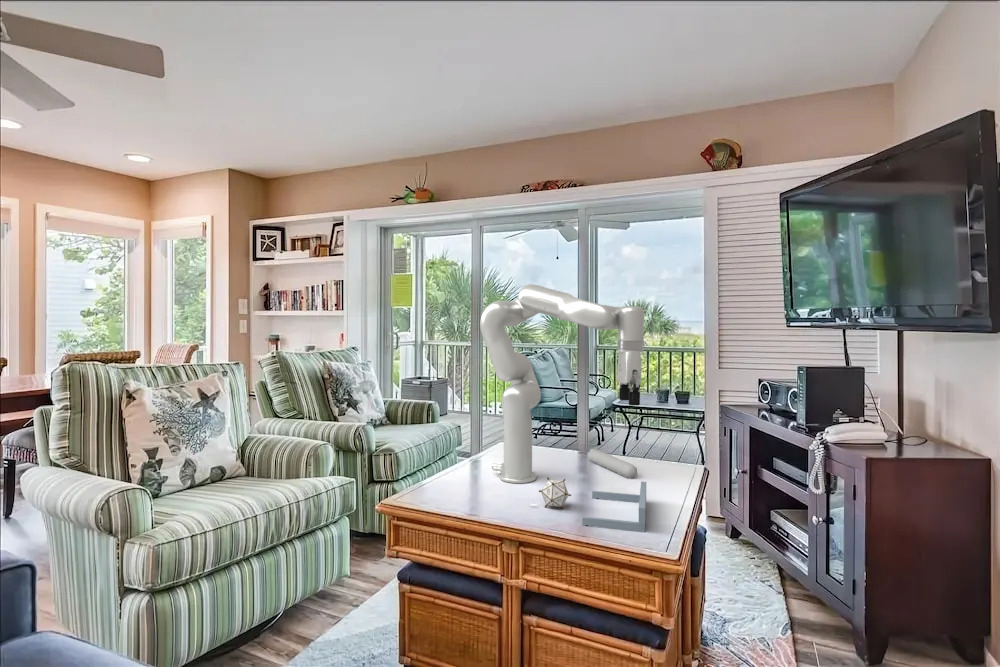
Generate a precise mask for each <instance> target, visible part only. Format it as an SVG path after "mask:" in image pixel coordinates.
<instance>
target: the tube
mask: <svg viewBox="0 0 1000 667" xmlns="http://www.w3.org/2000/svg"><path fill="white" fill-rule="evenodd" d="M587 459H588V461H590V462H591V461H593V463H594V462H595V463H594V464H596V463H597V465H599V466H601V465H602V466H601V467H603V466H604V467H603V468H605V467H606V468H605V469H607V468H608V470H609V469H610V471H611V470H612V472H613V473H615V474H618V473H619V474H618V475H620V474H621V475H620V476H622V475H623V476H622V477H624V476H625V478H626V477H627V479H629V478H631V479H634V478H636V477H637V476H638V475H639V474H638V467H636V466H635V465H634V464H631V463H630V462H627V461H625V460H623V459H620V458H618V457H615V456H613V455H611V454H609V453H606V452H604V451H602V450H599V449H598V448H591V449H590V450H589V451H588V453H587Z"/></svg>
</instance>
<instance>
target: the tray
mask: <svg viewBox="0 0 1000 667" xmlns="http://www.w3.org/2000/svg"><path fill="white" fill-rule="evenodd" d="M639 490H640V491H639V494H635V493H623V492H614V491H613V492H611V491H598V490H592V491H591V499H594V498H599V499H598V500H604V499H610V500H609V501H615V500H619V501H618V502H625V501H626V503H638V521H632V520H630V521H629V520H622V519H621V520H620V519H610V518H603V517H602V518H601V517H592V516H582V524H581V525H582V526H583V525H589V526H588V527H593V526H597V527H596V528H602V527H604V529H611V528H612V529H611V530H620V531H621V530H622V531H632V532H639V533H645V531H646V516H647V481H643V480H642V481H640V489H639Z"/></svg>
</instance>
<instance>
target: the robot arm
mask: <svg viewBox="0 0 1000 667" xmlns="http://www.w3.org/2000/svg"><path fill="white" fill-rule="evenodd" d="M644 313H645V312H644V308H643V307H641V306H638V305H636V306H635V305H634V306H633V305H631V306H630V305H628V306H627V305H625V306H619V307H618V306H612V305H606V304H600V303H596V302H592V301H590V300H589V301H587V300H585V299H582V298H579V297H575V296H574V295H572V294H570V293H568V292H565V291H561V290H556V289H552V288H549V287H544V286H542V285H538V284H530V283H529V284H526V285H524V286H522V288H521V289H520V290H519V292H518V295H517V298H515V299H514V300H512V301H510V300H509V301H508V300H495V301H493V302H490V304H488V305H487V306H486V307H485V308H484V310H483V311H482V314H481V317H480V321H479V322H480V323H479V325H480V326H479V328H480V332H481V335H482V339H483V340H484V343H485V346H486V349H487V351H488V354H489V358H490V360H491V364H492V366H493V370H494V373H495V375H496V377H497V378H498V379H499V380H500V381H502V382H508V383H509V382H510V383H511V385H509V386H508V387H506V389H505V390H504V392H503V393H502V395H501V410H502V416H503V463H501V464H500V463H499V464H498V463H492V465H491V469H492V470H493V471H494V472H497V471H498V472H499V474H498V478H499V480H501V481H503V482H506V483H511V484H525V483H531V482H534V481H536V480H537V474H536V473H535V472H534V471H533V420H532V415H531V409H533V408H535V407H536V406H538V404H540V402H541V398H542V393H541V388H540V386H539V382H538V379H537V377H536V373H535V371H534V369H533V365H532V363H531V361H530V360H529V358H528V357H527V355H525V354H523V353H521V352H516V351H515V348H514V346H513V343H512V341H511V338H510V337H511V336H509V334H508V332H507V331H506V328H505V327H514V326H517V325H519V324H521V323H523V322H526V321H527V320H529V319H531V318H533V317H534V316H536V315H538V314H541V315H545V316H546V315H547V316H549V317H554V318H557V319H559V320H563V321H568V322H571V323H574V324H577V325H581V326H585V327H587V328H591V329H595V330H598V331H599V330H600V331H603V330H605V331H609V330H610V331H611V330H616V329H617V352H618V356H617V357H618V358H617V371H616V381H617V382H618V383H619V391H618V392H619V396H618V397H619V401H628V405H629V406H640V403H641V383H642V355H641V353H643V352H644V321H645V320H644V318H645V314H644Z"/></svg>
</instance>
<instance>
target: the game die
mask: <svg viewBox="0 0 1000 667" xmlns="http://www.w3.org/2000/svg"><path fill="white" fill-rule="evenodd" d="M546 479H547V481H546V483H545V485H544V486H543V488H542V489H539V490H538V492H539V493H541V494H542V498H543V501H544V502H545V505H544V508H547V506H549V507H558V508H560V509H561V510H562V509H563V510H564V507H563V506H564V504H565V502H566V501H567V499H568V498H569V497H571V496H572V494H570V493H569V492H568V489H567V486H566V483H565V481H566V478H564V479H563V480H556V479H550V477H548V476H547V477H546Z"/></svg>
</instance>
